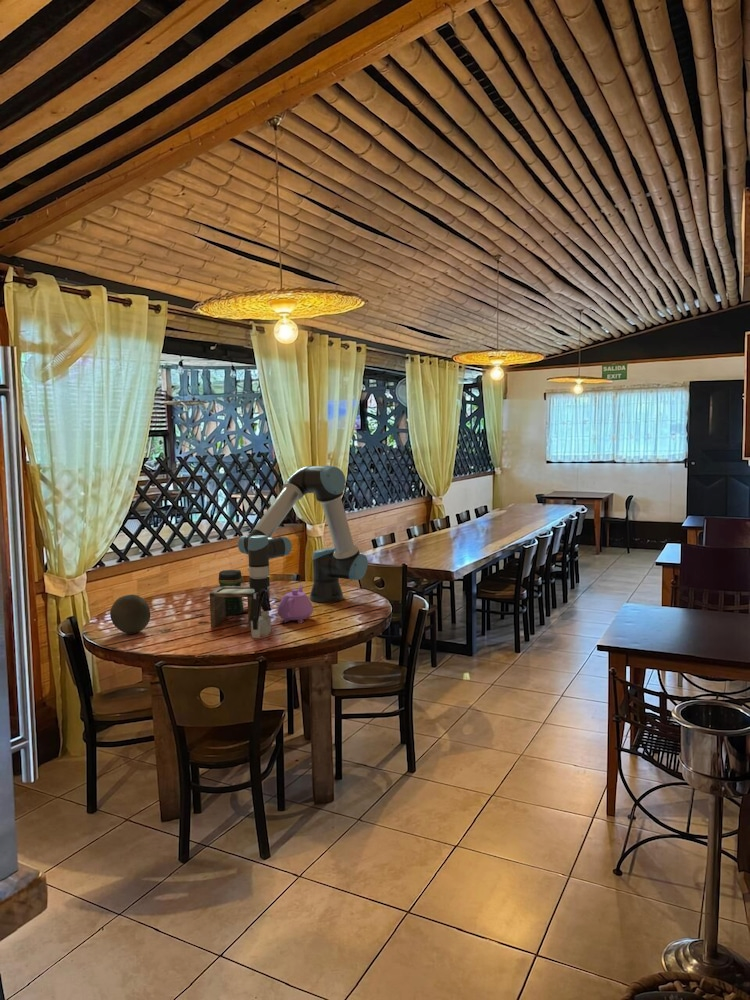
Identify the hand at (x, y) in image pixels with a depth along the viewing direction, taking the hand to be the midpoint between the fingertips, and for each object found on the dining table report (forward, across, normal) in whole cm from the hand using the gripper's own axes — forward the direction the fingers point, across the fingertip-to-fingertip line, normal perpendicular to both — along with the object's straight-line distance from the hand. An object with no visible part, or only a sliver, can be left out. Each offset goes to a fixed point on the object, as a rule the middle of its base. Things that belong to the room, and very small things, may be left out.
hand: (261, 632), depth 256 cm
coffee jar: (0, -29, -21) cm, 36 cm away
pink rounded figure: (0, -20, +9) cm, 22 cm away
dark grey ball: (0, +3, -50) cm, 50 cm away
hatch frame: (0, -14, -14) cm, 20 cm away
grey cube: (0, 0, 0) cm, 0 cm away
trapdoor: (-9, -14, -11) cm, 20 cm away
